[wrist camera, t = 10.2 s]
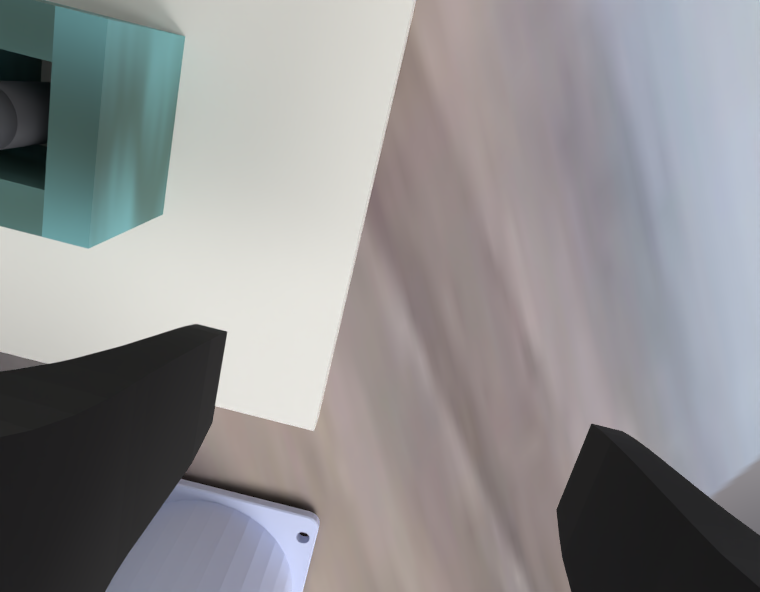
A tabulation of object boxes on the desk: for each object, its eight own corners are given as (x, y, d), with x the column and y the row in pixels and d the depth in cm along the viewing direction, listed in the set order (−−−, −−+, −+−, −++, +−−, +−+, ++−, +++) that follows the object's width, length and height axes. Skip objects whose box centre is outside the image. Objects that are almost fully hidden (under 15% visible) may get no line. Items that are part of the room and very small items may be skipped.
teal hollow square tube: (162, 214, 20) (88, 248, 15) (-1, 172, 20) (-122, 194, 15) (185, 36, 18) (107, 19, 14) (4, -10, 18) (-129, -42, 14)
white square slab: (318, 416, 23) (278, 533, 17) (-155, 297, 23) (-365, 371, 17) (450, -145, 17) (460, -276, 11) (-190, -307, 17) (-535, -529, 11)
